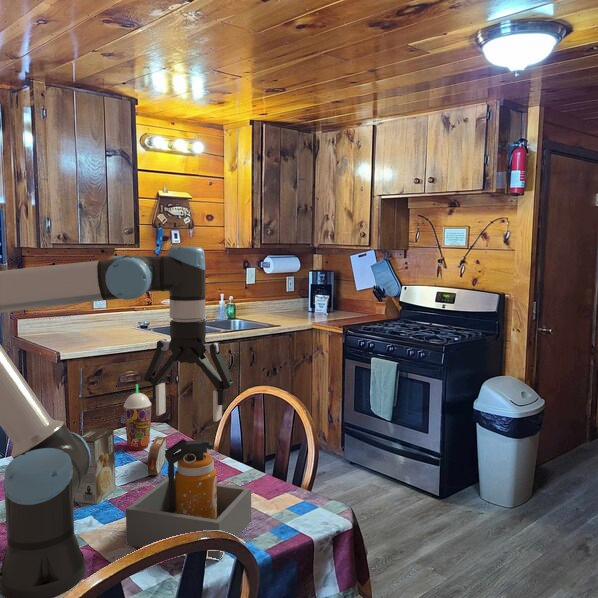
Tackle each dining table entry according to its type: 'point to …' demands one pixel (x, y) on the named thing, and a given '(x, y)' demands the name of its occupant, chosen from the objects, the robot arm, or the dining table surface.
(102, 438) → the coffee box
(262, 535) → the dining table surface
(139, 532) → the bin
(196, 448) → the canister
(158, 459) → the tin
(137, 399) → the smoothie
